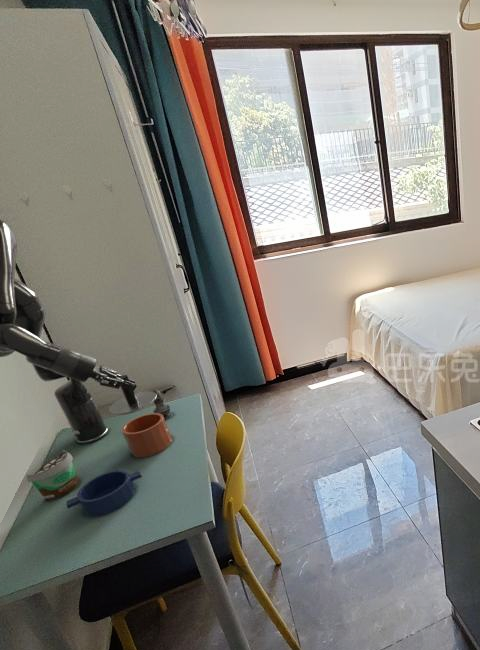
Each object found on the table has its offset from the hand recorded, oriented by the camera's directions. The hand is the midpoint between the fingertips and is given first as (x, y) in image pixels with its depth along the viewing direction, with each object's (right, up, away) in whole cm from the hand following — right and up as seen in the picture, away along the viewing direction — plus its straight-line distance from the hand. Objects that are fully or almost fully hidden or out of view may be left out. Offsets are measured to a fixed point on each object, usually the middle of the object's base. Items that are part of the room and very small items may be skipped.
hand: (134, 386), depth 139 cm
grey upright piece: (-4, -13, +26) cm, 29 cm away
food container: (-15, -30, -8) cm, 35 cm away
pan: (+2, -31, -14) cm, 34 cm away
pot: (+1, -21, +9) cm, 22 cm away
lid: (-1, -6, +1) cm, 6 cm away
